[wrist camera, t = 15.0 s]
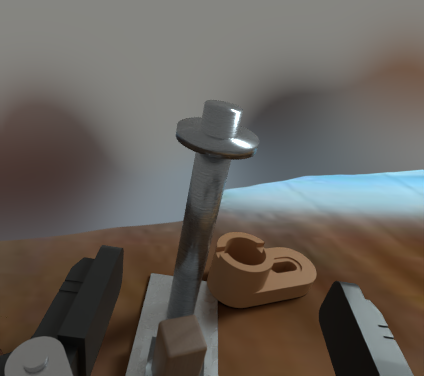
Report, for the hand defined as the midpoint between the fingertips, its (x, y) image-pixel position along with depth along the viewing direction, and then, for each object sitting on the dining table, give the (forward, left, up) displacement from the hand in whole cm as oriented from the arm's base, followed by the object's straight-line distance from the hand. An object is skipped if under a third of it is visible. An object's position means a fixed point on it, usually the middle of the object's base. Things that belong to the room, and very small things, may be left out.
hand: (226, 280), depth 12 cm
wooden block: (0, -11, -26) cm, 28 cm away
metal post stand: (0, -16, -27) cm, 31 cm away
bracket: (-12, -28, -27) cm, 40 cm away
